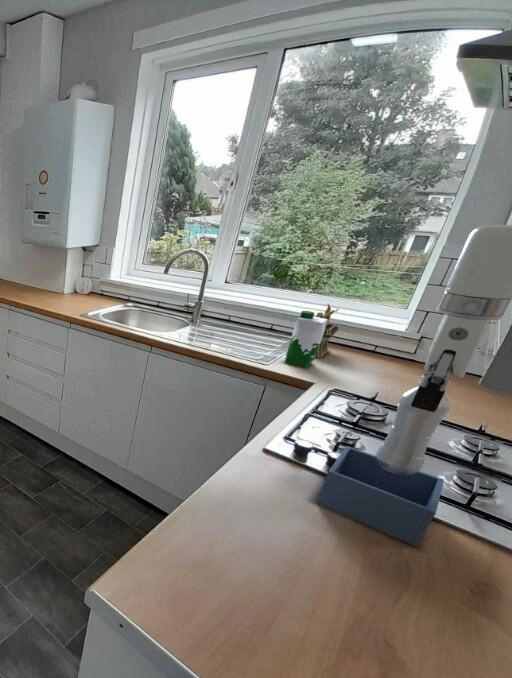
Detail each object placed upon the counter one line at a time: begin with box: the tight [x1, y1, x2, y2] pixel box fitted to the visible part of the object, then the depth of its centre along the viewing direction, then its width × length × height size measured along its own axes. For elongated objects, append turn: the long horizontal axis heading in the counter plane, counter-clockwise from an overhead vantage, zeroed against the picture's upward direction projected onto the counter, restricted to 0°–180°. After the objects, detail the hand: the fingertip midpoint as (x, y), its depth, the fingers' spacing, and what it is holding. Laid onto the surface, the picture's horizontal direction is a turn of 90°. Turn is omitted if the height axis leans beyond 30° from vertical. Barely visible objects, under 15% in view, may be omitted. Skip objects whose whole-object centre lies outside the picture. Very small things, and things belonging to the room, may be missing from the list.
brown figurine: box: [314, 303, 340, 358], centre depth 169 cm, size 20×10×20 cm, turn 133°
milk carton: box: [284, 310, 328, 369], centre depth 155 cm, size 9×9×20 cm
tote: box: [315, 445, 445, 547], centre depth 83 cm, size 16×15×8 cm
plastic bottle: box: [375, 372, 452, 476], centre depth 76 cm, size 6×7×20 cm
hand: (425, 402), depth 74 cm, fingers closed on plastic bottle, 6 cm apart
